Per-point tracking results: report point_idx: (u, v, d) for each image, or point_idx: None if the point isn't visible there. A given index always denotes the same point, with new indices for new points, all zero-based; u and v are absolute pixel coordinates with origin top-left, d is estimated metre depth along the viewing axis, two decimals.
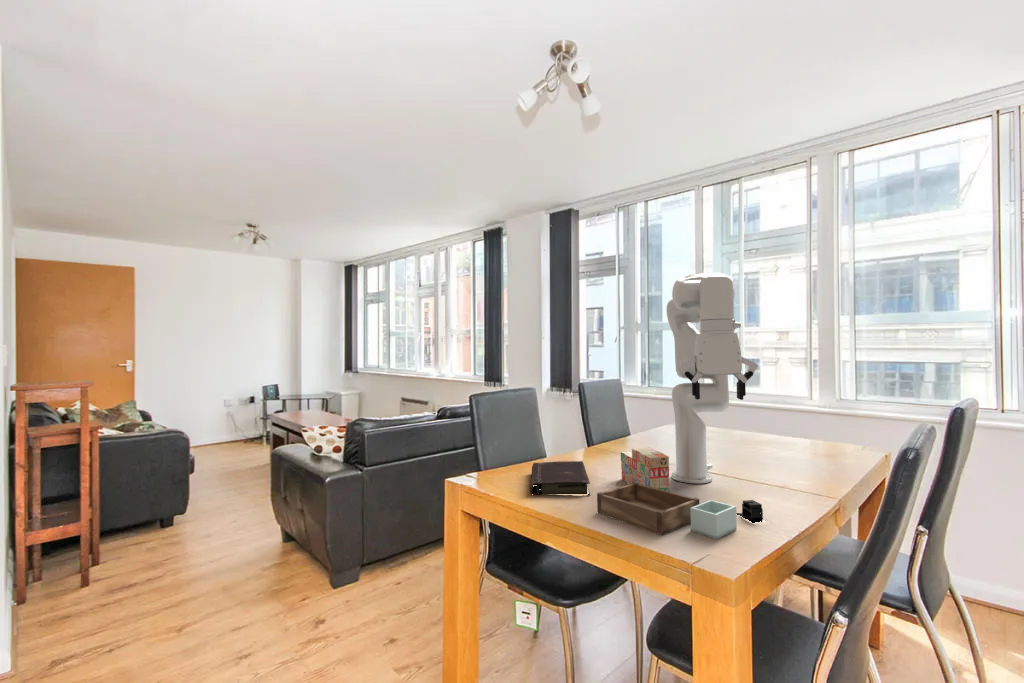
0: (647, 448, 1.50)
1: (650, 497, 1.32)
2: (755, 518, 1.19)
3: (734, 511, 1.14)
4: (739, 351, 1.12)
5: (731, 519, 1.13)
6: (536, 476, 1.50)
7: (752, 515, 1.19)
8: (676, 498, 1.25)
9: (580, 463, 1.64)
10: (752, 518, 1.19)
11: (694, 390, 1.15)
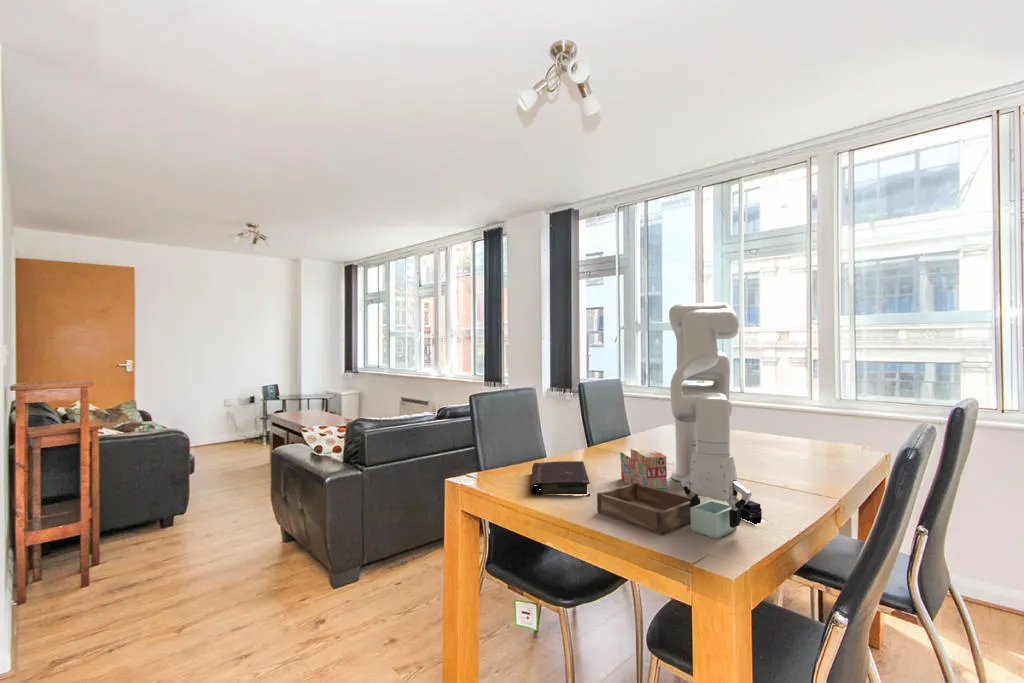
0: (646, 448, 1.50)
1: (650, 497, 1.32)
2: (755, 518, 1.19)
3: None
4: None
5: None
6: (536, 476, 1.50)
7: (752, 515, 1.19)
8: (676, 498, 1.25)
9: (580, 463, 1.64)
10: (752, 518, 1.19)
11: None
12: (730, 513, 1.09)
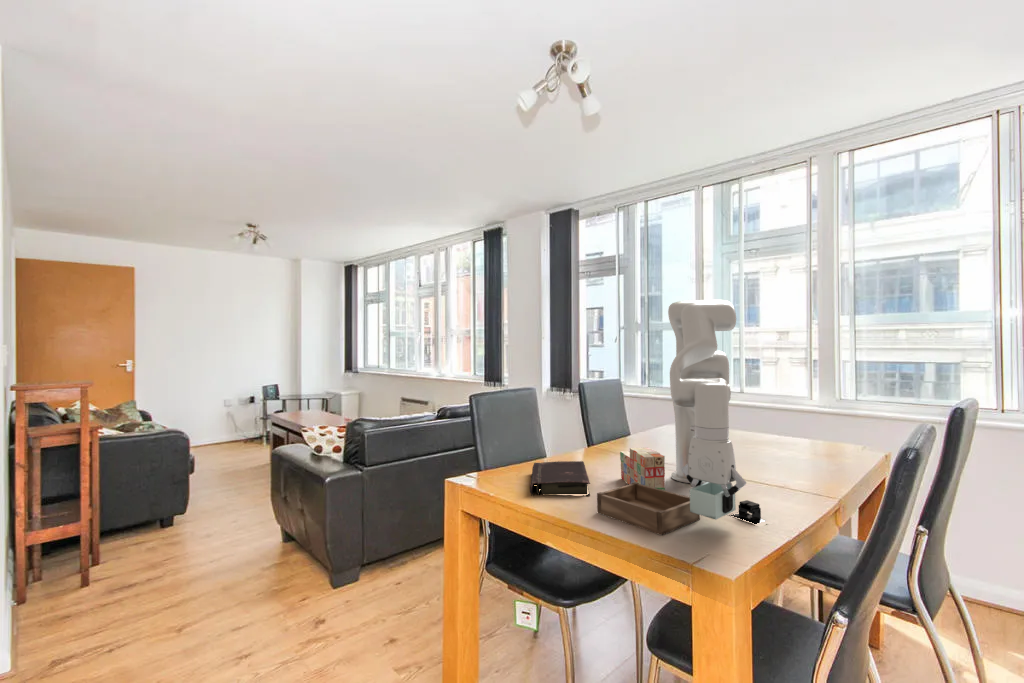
0: (645, 448, 1.50)
1: (650, 497, 1.32)
2: (755, 518, 1.19)
3: None
4: None
5: None
6: (536, 476, 1.50)
7: (753, 516, 1.19)
8: (676, 498, 1.25)
9: (581, 463, 1.64)
10: (753, 519, 1.19)
11: None
12: (723, 499, 1.11)
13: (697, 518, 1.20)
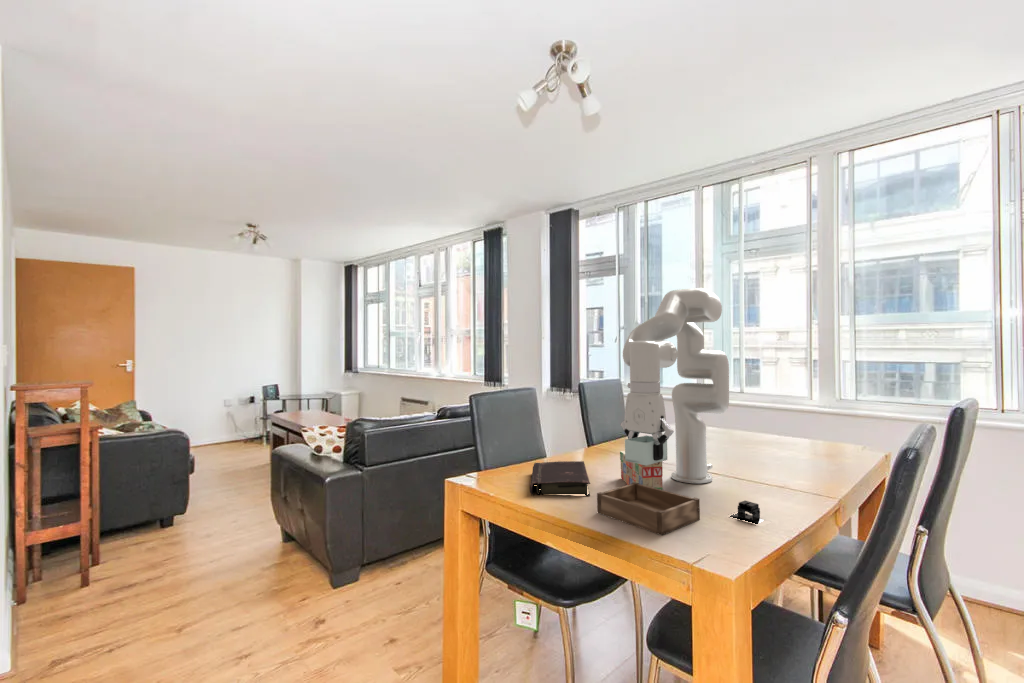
0: None
1: (650, 497, 1.32)
2: (755, 519, 1.19)
3: (665, 443, 1.24)
4: None
5: None
6: (536, 476, 1.50)
7: (753, 516, 1.19)
8: (676, 498, 1.25)
9: (581, 463, 1.64)
10: (753, 519, 1.19)
11: None
12: (653, 447, 1.21)
13: (697, 518, 1.20)
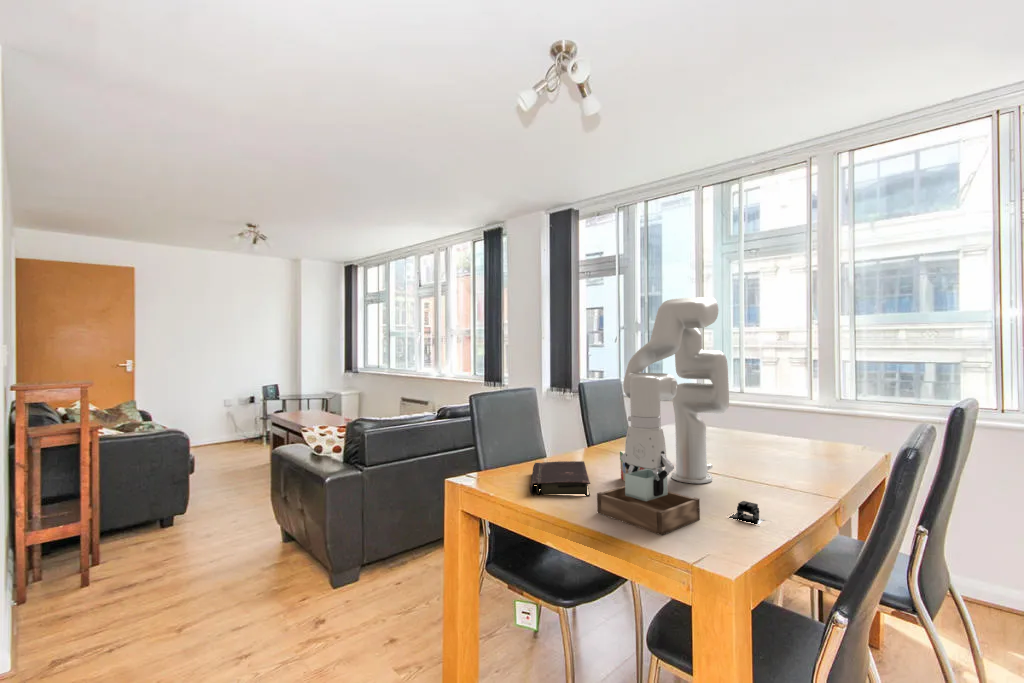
0: None
1: None
2: (755, 519, 1.19)
3: None
4: None
5: None
6: (536, 476, 1.50)
7: (754, 516, 1.18)
8: (676, 498, 1.25)
9: (581, 463, 1.64)
10: (754, 519, 1.18)
11: None
12: (654, 483, 1.20)
13: (697, 518, 1.20)
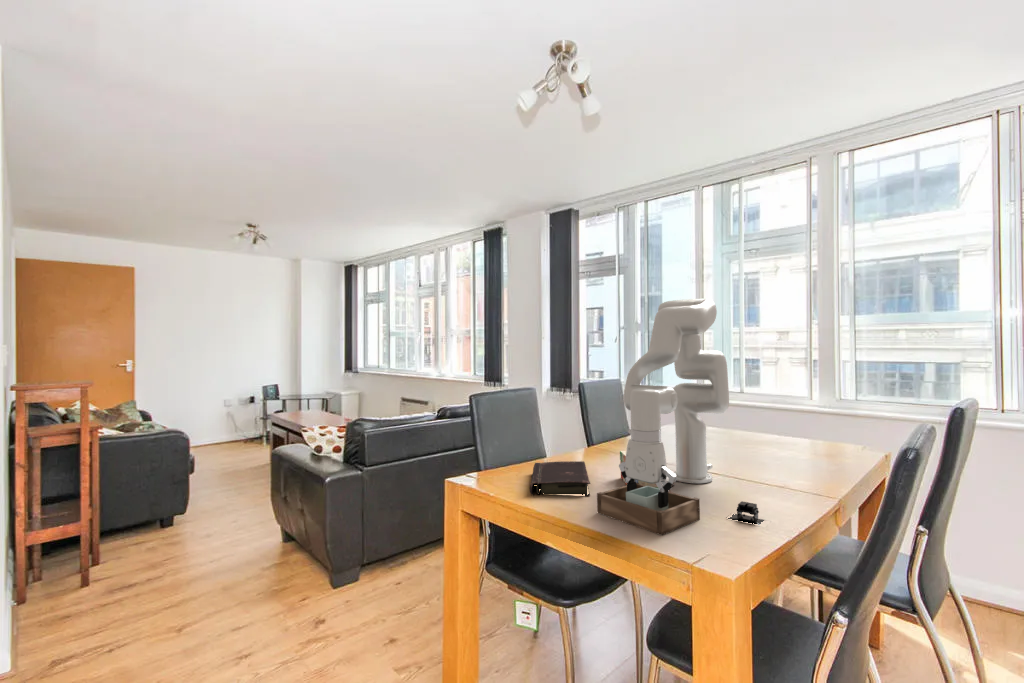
0: None
1: None
2: (756, 519, 1.19)
3: None
4: None
5: None
6: (536, 476, 1.50)
7: (754, 517, 1.18)
8: (676, 498, 1.25)
9: (581, 463, 1.64)
10: (754, 520, 1.18)
11: None
12: (658, 495, 1.19)
13: (697, 518, 1.20)
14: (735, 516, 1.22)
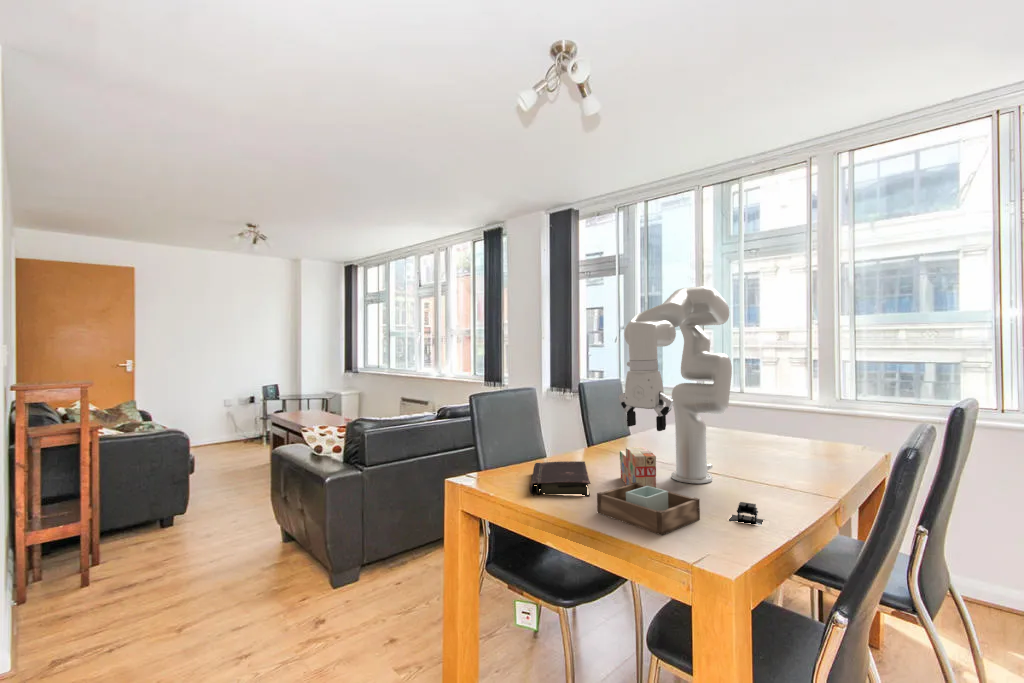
0: (641, 447, 1.51)
1: None
2: (756, 519, 1.18)
3: (666, 495, 1.24)
4: None
5: (662, 502, 1.23)
6: (536, 476, 1.50)
7: (755, 517, 1.18)
8: (676, 498, 1.25)
9: (582, 463, 1.64)
10: (755, 520, 1.18)
11: None
12: (657, 419, 1.28)
13: (697, 518, 1.20)
14: (734, 517, 1.21)
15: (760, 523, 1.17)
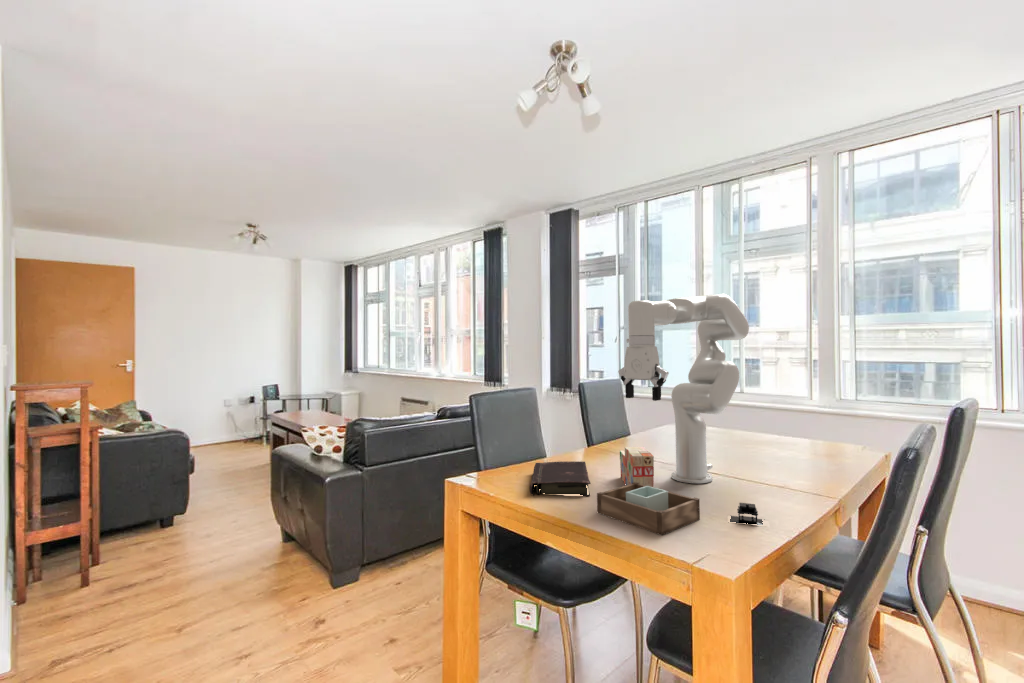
0: (640, 447, 1.51)
1: None
2: None
3: (666, 495, 1.24)
4: None
5: (662, 502, 1.23)
6: (536, 476, 1.50)
7: (756, 517, 1.18)
8: (676, 498, 1.25)
9: (582, 463, 1.64)
10: (756, 521, 1.18)
11: None
12: (652, 389, 1.38)
13: (697, 518, 1.20)
14: (734, 518, 1.21)
15: (761, 523, 1.17)
